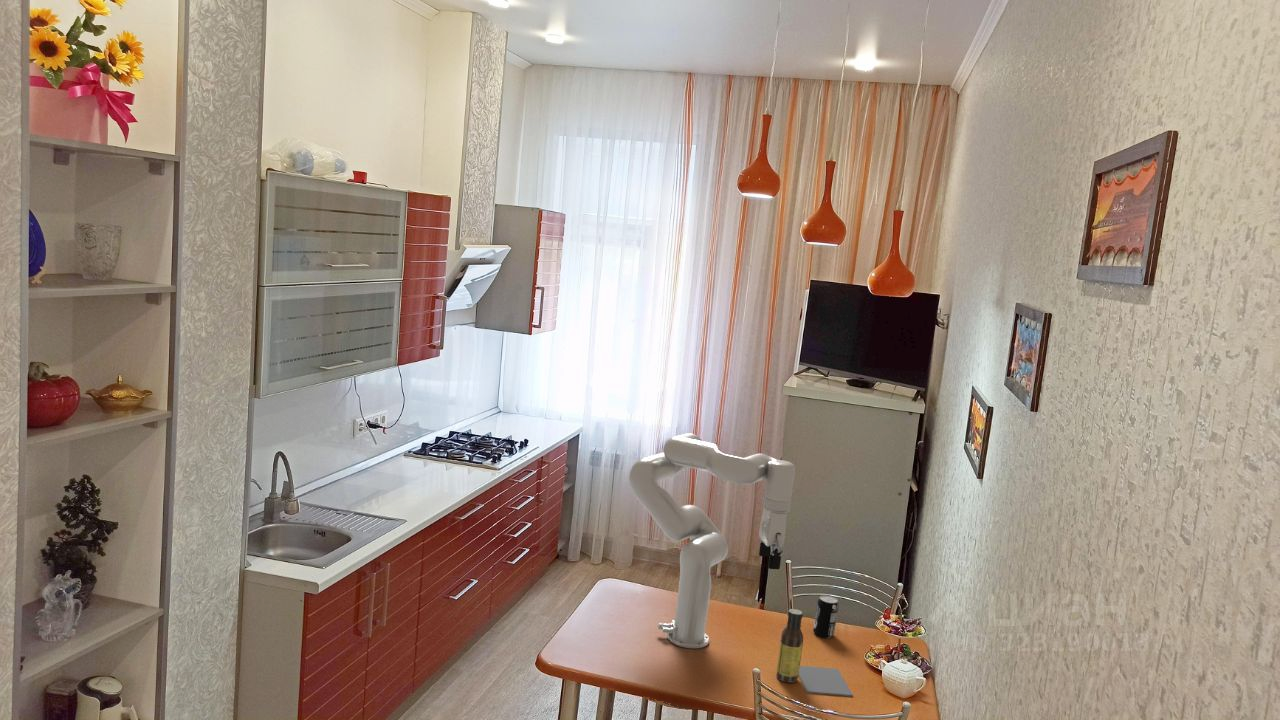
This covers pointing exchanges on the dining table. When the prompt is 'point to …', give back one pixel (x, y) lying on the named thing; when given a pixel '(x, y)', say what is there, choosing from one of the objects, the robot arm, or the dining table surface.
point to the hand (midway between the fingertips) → (768, 562)
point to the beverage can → (826, 616)
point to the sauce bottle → (790, 648)
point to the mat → (823, 681)
